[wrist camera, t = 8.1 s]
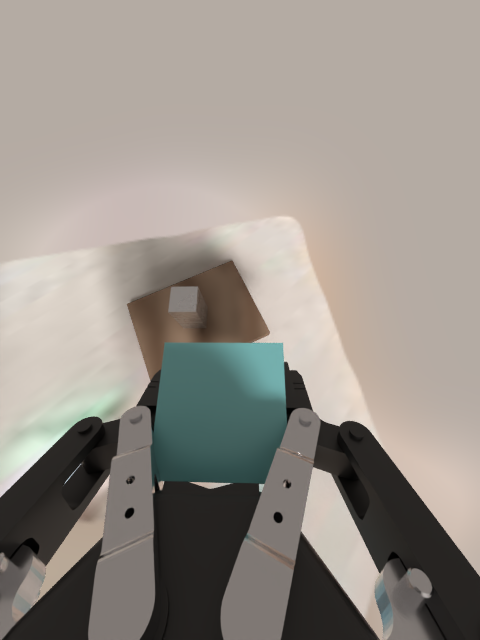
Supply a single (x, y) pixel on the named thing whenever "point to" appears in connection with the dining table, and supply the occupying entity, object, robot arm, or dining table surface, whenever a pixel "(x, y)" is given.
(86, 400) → the dining table surface
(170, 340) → the board
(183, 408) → the teal foam cube
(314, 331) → the dining table surface
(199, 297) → the post
